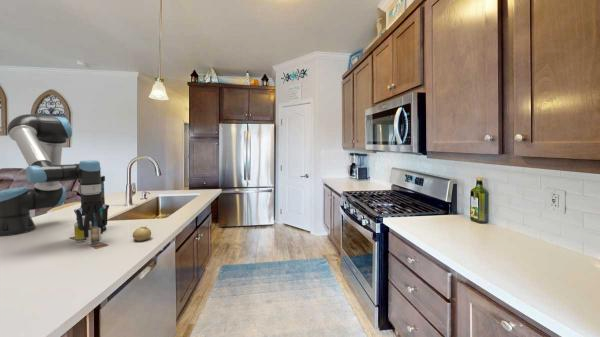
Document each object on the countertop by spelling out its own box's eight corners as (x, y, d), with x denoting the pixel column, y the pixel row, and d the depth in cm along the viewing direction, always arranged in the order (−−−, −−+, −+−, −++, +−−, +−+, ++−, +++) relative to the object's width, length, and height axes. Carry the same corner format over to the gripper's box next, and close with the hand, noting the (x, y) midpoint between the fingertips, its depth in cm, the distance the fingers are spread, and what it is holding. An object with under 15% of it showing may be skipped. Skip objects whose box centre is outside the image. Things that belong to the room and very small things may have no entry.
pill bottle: (82, 242, 125) (81, 219, 125) (71, 241, 127) (70, 218, 126) (95, 238, 132) (94, 215, 131) (85, 237, 133) (83, 214, 132)
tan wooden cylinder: (88, 244, 124) (87, 227, 123) (97, 241, 127) (96, 225, 126) (91, 245, 122) (90, 228, 121) (100, 243, 125) (99, 226, 124)
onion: (131, 243, 125) (131, 229, 125) (133, 238, 132) (133, 224, 132) (151, 241, 129) (150, 226, 128) (151, 236, 136) (151, 222, 135)
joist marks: (69, 238, 132) (69, 237, 132) (81, 235, 136) (81, 234, 136) (95, 248, 118) (95, 248, 118) (108, 245, 122) (108, 244, 122)
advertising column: (86, 236, 135) (83, 178, 133) (77, 232, 141) (74, 176, 138) (111, 230, 144) (108, 176, 142) (101, 227, 150) (99, 175, 148)
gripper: (73, 196, 113) (76, 249, 115) (114, 191, 128) (117, 238, 129) (65, 195, 117) (68, 246, 119) (107, 190, 131) (109, 236, 133)
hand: (94, 242), depth 124 cm, fingers closed on tan wooden cylinder, 3 cm apart
